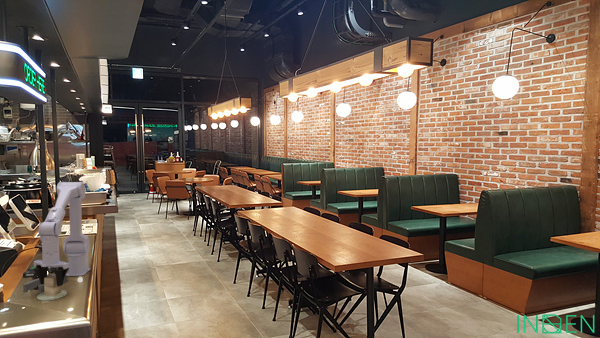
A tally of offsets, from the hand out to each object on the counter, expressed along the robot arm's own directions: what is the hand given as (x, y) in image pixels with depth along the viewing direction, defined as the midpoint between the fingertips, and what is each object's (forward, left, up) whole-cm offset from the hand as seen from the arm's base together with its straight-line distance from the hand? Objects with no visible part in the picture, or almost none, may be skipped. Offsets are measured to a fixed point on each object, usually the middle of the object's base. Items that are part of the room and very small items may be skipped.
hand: (51, 284), depth 156 cm
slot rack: (-10, -7, -5) cm, 13 cm away
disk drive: (-30, -18, -5) cm, 36 cm away
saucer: (0, 0, -5) cm, 5 cm away
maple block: (0, 0, -4) cm, 4 cm away
